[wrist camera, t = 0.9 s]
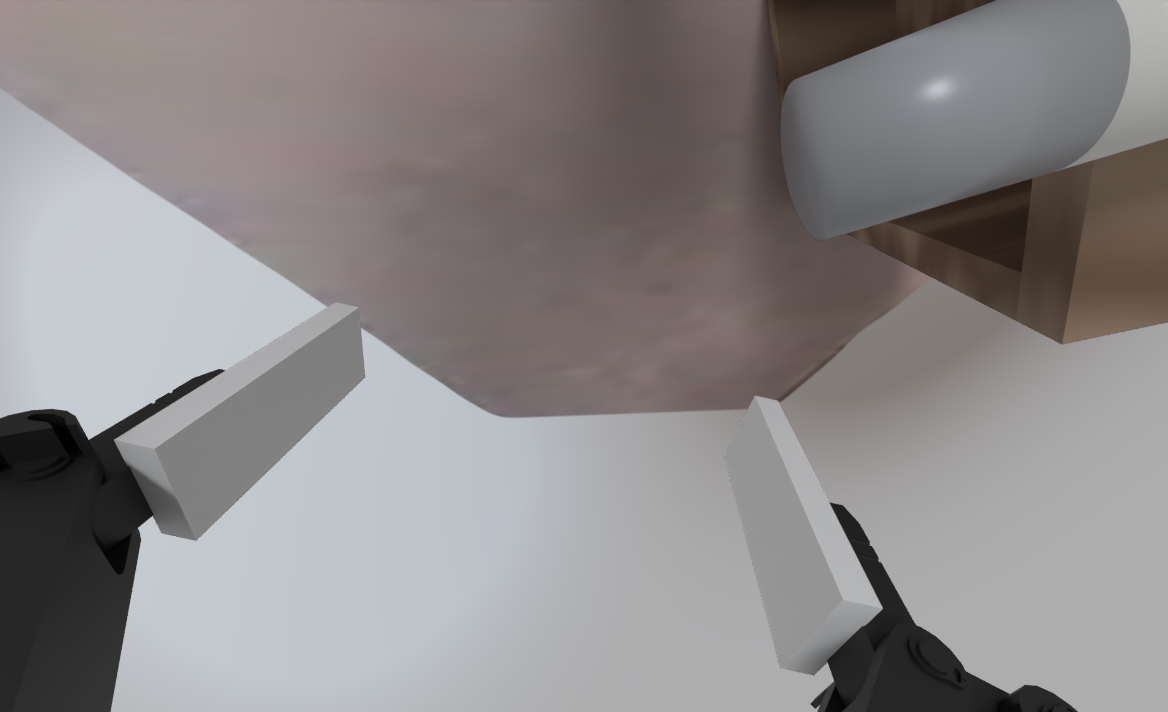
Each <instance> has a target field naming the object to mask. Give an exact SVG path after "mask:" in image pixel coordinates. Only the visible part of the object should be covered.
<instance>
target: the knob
mask: <svg viewBox="0 0 1168 712" xmlns="http://www.w3.org/2000/svg"><path fill="white" fill-rule="evenodd" d="M780 133H781V151H782V160H783V166H784V172H785V177H786V182H787V186H788V190H789V193H790V197H791V200H792V203H793V206H794V208H795V211H796V213H797V216H798V218H799V220H800V222H801V223H802V225H803V227H804V228H805V230H806V231H807V232H808V233H809V235H810V236H812V237H813V238H814V239H816V240H819V241H822V240H826V239H830V238H833V237H836V236H840V235H843V234H846V233H850V232H853V231H857V230H860V229H863V228H867V227H870V226H873V225H877V224H880V223H884V222H887V221H890V220H894V219H897V218H900V217H904V216H907V215H910V214H914V213H917V212H921V211H924V210H927V209H931V208H934V207H937V206H941V205H944V204H948V203H951V202H954V201H958V200H961V199H964V198H968V197H971V196H974V195H978V194H981V193H985V192H988V191H991V190H995V189H998V188H1001V187H1005V186H1008V185H1012V184H1015V183H1018V182H1022V181H1025V180H1028V179H1032V178H1035V177H1038V176H1042V175H1045V174H1049V173H1052V172H1055V171H1059V170H1062V169H1065V168H1069V167H1072V166H1076V165H1079V164H1082V163H1086V162H1089V161H1092V160H1096V159H1099V158H1102V157H1106V156H1109V155H1113V154H1116V153H1119V152H1123V151H1126V150H1129V149H1133V148H1136V147H1140V146H1143V145H1146V144H1150V143H1153V142H1156V141H1160V140H1163V139H1167V138H1168V0H996V1H993V2H991V3H988V4H986V5H983V6H980V7H978V8H975V9H973V10H970V11H968V12H965V13H963V14H960V15H958V16H955V17H952V18H950V19H947V20H945V21H942V22H940V23H937V24H935V25H932V26H930V27H927V28H924V29H922V30H919V31H917V32H914V33H912V34H909V35H907V36H904V37H902V38H899V39H897V40H894V41H891V42H889V43H886V44H884V45H881V46H879V47H876V48H874V49H871V50H869V51H866V52H863V53H861V54H858V55H856V56H853V57H851V58H848V59H846V60H843V61H841V62H838V63H835V64H833V65H830V66H828V67H825V68H823V69H820V70H818V71H815V72H813V73H810V74H808V75H805V76H802V77H800V78H797V79H795V80H793V81H792V82H791V83H790V85H789V86H788V88H787V91H786V93H785V96H784V100H783V105H782V112H781V129H780Z"/></svg>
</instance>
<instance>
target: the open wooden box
mask: <svg viewBox="0 0 1168 712" xmlns="http://www.w3.org/2000/svg"><path fill="white" fill-rule="evenodd" d="M993 1H996V0H767V2H768V10H769V18H770V26H771V34H772V42H773V50H774V58H775V66H776V74H777V81H778V89H779V97H780V105H781V112H782V105H783V100H784V96H785V93H786V91H787V88H788V86H789V85H790V83H791V82H792V81H793V80H795V79H797V78H800V77H802V76H805V75H808V74H810V73H813V72H815V71H818V70H820V69H823V68H825V67H828V66H830V65H833V64H835V63H838V62H841V61H843V60H846V59H848V58H851V57H853V56H856V55H858V54H861V53H863V52H866V51H869V50H871V49H874V48H876V47H879V46H881V45H884V44H886V43H889V42H891V41H894V40H897V39H899V38H902V37H904V36H907V35H909V34H912V33H914V32H917V31H919V30H922V29H924V28H927V27H930V26H932V25H935V24H937V23H940V22H942V21H945V20H947V19H950V18H952V17H955V16H958V15H960V14H963V13H965V12H968V11H970V10H973V9H975V8H978V7H980V6H983V5H986V4H988V3H991V2H993ZM847 234H849V235H851V236H852V237H854V238H856V239H858V240H860V241H862V242H864V243H866V244H868V245H870V246H872V247H874V248H876V249H878V250H880V251H882V252H884V253H885V254H887V255H889V256H891V257H893V258H895V259H897V260H899V261H901V262H903V263H905V264H907V265H909V266H911V267H913V268H915V269H917V270H918V271H920V272H922V273H924V274H926V275H928V276H930V277H932V278H934V279H936V280H938V281H940V282H942V283H944V284H946V285H948V286H950V287H951V288H953V289H955V290H957V291H959V292H961V293H963V294H965V295H967V296H969V297H971V298H973V299H975V300H977V301H979V302H981V303H983V304H985V305H987V306H988V307H990V308H992V309H994V310H996V311H998V312H1000V313H1002V314H1004V315H1006V316H1008V317H1010V318H1012V319H1014V320H1016V321H1018V322H1019V323H1021V324H1023V325H1025V326H1027V327H1029V328H1031V329H1033V330H1035V331H1037V332H1039V333H1041V334H1043V335H1045V336H1047V337H1049V338H1051V339H1053V340H1055V341H1056V342H1058V343H1060V344H1067V343H1072V342H1076V341H1081V340H1086V339H1091V338H1096V337H1100V336H1104V335H1110V334H1114V333H1119V332H1124V331H1129V330H1134V329H1138V328H1143V327H1148V326H1153V325H1157V324H1162V323H1167V322H1168V138H1167V139H1163V140H1160V141H1156V142H1153V143H1150V144H1146V145H1143V146H1140V147H1136V148H1133V149H1129V150H1126V151H1123V152H1119V153H1116V154H1113V155H1109V156H1106V157H1102V158H1099V159H1096V160H1092V161H1089V162H1086V163H1082V164H1079V165H1076V166H1072V167H1069V168H1065V169H1062V170H1059V171H1055V172H1052V173H1049V174H1045V175H1042V176H1038V177H1035V178H1032V179H1028V180H1025V181H1022V182H1018V183H1015V184H1012V185H1008V186H1005V187H1001V188H998V189H995V190H991V191H988V192H985V193H981V194H978V195H974V196H971V197H968V198H964V199H961V200H958V201H954V202H951V203H948V204H944V205H941V206H937V207H934V208H931V209H927V210H924V211H921V212H917V213H914V214H910V215H907V216H904V217H900V218H897V219H894V220H890V221H887V222H884V223H880V224H877V225H873V226H870V227H867V228H863V229H860V230H857V231H853V232H850V233H847Z"/></svg>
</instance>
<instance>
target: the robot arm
mask: <svg viewBox="0 0 1168 712" xmlns="http://www.w3.org/2000/svg"><path fill="white" fill-rule="evenodd" d="M364 378H365V369H364V359H363V348H362V337H361V326H360V315H359V307H354V306H350V305H345V304H341V303H336V302H335V303H334V304H332V305H331V306H329V307H327V308H326V309H324V310H323V311H321V312H319V313H318V314H316V315H314V316H313V317H311V318H310V319H308V320H306V321H305V322H303V323H301V324H300V325H299V326H297V327H295V328H293V329H292V330H290V331H289V332H287V333H285V334H284V335H282V336H281V337H279V338H277V339H276V340H274V341H273V342H271V343H269V344H268V345H266V346H264V347H263V348H261V349H260V350H258V351H256V352H255V353H253V354H252V355H250V356H248V357H247V358H245V359H243V360H242V361H240V362H239V363H237V364H235V365H234V366H232V367H231V368H229V369H227V370H222V369H218V370H215V371H212V372H209V373H206V374H204V375H201V376H198V377H195V378H193V379H191V380H189V381H188V382H186V383H185V384H183V385H181V386H179V387H178V388H176V389H174V390H173V392H172V393H167V394H166V395H164V396H162V397H161V398H159V399H157V400H156V402H155V403H154V404H152V403H150V404H149V405H147V406H146V407H144V408H142V409H140V410H139V411H137V412H135V413H134V414H132V415H130V416H129V417H127V418H125V419H124V420H122V421H120V422H118V423H117V424H115V425H113V426H112V427H110V428H109V429H107V430H105V431H103V432H101V433H100V434H98V435H96V436H95V437H93V438H91V439H90V440H88V438H87V436H86V434H85V432H84V431H83V429H82V427H81V425H80V424H79V422H78V420H77V418H76V416H74V415H73V414H71V413H69V412H68V411H63V410H55V409H45V410H31V411H27V412H22V413H18V414H13V415H9V416H6V417H3V418H0V712H110V711H111V706H112V700H113V694H114V689H115V683H116V678H117V672H118V666H119V661H120V655H121V650H122V644H123V638H124V633H125V626H126V621H127V616H128V610H129V605H130V599H131V594H132V588H133V582H134V576H135V571H136V565H137V560H138V554H139V548H140V543H141V538H140V532H139V530H138V527H139V526H141V525H142V524H143V523H144V522H145V521H146V520H148V519H149V518H150V517H152V516H153V517H154V519H155V521H156V523H157V525H158V527H159V529H160V531H161V533H163V534H167V535H172V536H177V537H181V538H186V539H191V540H195V541H196V540H197V539H198V538H199V537H200V536H202V535H203V534H204V533H205V532H206V531H207V530H208V529H209V528H210V527H211V526H212V525H213V524H214V523H215V522H216V521H217V520H218V519H219V518H220V517H221V516H222V515H223V514H224V513H225V512H226V511H227V510H228V509H229V508H230V507H231V506H232V505H234V504H235V503H236V502H237V501H238V500H239V499H240V498H241V497H242V496H243V495H244V494H245V493H246V492H247V491H248V490H249V489H250V488H251V487H252V486H253V485H254V484H255V483H256V482H257V481H258V480H259V479H260V478H262V476H264V475H265V474H266V473H267V472H268V471H269V470H270V469H271V468H272V467H273V466H274V465H275V464H276V463H277V462H278V461H279V460H280V459H281V458H282V457H283V456H284V455H285V454H286V453H287V452H288V451H289V450H290V449H292V447H294V446H295V445H296V444H297V443H298V442H299V441H300V440H301V439H302V438H303V437H304V436H305V435H306V434H307V433H308V432H309V431H310V430H311V429H312V428H313V427H314V426H315V425H316V424H317V423H318V422H319V421H320V420H321V419H322V418H324V417H325V416H326V414H328V413H329V412H330V411H331V410H332V409H333V408H334V407H335V406H336V405H337V404H338V403H339V402H340V401H341V400H342V399H343V398H344V397H345V396H346V395H347V394H348V393H349V392H350V391H352V390H353V388H354V387H356V386H357V385H358V384H359V383H360V382H361V381H362V380H363V379H364ZM724 458H725V462H726V465H727V469H728V473H729V477H730V481H731V484H732V488H733V492H734V496H735V499H736V503H737V507H738V511H739V514H740V518H741V522H742V526H743V529H744V533H745V537H746V541H747V545H748V549H749V552H750V556H751V560H752V564H753V567H754V571H755V575H756V579H757V582H758V586H759V590H760V593H761V598H762V601H763V605H764V609H765V613H766V616H767V620H768V624H769V627H770V631H771V635H772V639H773V643H774V647H775V650H776V654H777V658H778V662H779V665H780V668H783V669H787V670H792V671H796V672H801V673H805V674H810V675H815V674H816V673H817V672H818V671H819V670H820V669H821V668H822V667H823V666H824V665H825V664H826V663H827V662H828V664H829V667H830V670H831V673H832V675H833V678H834V682H833V683H832V684H831V685H830V686H828V687H827V688H826V689H825V690H824V691H823V692H822V693H821V694H820V695H819V696H817V697H816V698H815V699H814V701H813V702H812V703H811V705H812V706H813V707H814V708H817V707H818V706H819V705H820V704H821V705H820V707H819V709H818V712H1077V711H1076V710H1075V709H1074V708H1073V707H1072V706H1071V705H1069V704H1068V703H1066V702H1065V701H1063V700H1062V699H1061V698H1059V697H1058V696H1056V695H1055V694H1053V693H1052V692H1049V691H1047V690H1045V689H1043V688H1040V687H1038V686H1031V685H1024V686H1023V687H1021V688H1019V689H1018V690H1016V691H1014V692H1013V693H1011V694H1009V693H1006V692H1005V691H1003V690H1001V689H999V688H997V687H995V686H993V685H991V684H989V683H987V682H985V681H983V680H981V679H979V678H977V677H976V676H974V675H972V674H970V673H968V672H966V671H965V669H964V667H963V665H962V664H961V662H960V661H959V660H958V659H957V657H956V656H955V655H954V654H953V652H952V651H951V650H950V649H949V648H948V647H947V646H946V645H945V644H944V643H942V642H941V641H940V640H939V639H938V638H937V637H936V636H934V635H932V634H931V633H929V632H928V631H926V630H924V629H923V628H921V627H919V626H916V624H915V623H914V621H913V620H912V618H911V616H910V614H909V612H908V611H907V608H906V607H905V605H904V603H903V601H902V599H901V598H900V596H899V594H898V592H897V590H896V589H895V587H894V585H893V583H892V582H891V580H890V578H889V576H888V574H887V572H886V571H885V569H884V567H883V565H882V563H881V562H879V561H878V559H879V558H878V556H877V554H876V553H875V551H874V549H873V547H872V546H870V544H869V543H870V542H869V540H868V538H867V536H866V535H865V533H864V531H863V529H862V528H861V526H860V524H859V523H858V521H857V520H856V519H855V518H854V517H853V516H852V515H851V514H850V513H849V512H848V511H847V510H846V508H845V507H844V506H843V505H838V504H834V503H829V501H828V499H827V497H826V495H825V493H824V491H823V489H822V488H821V485H820V483H819V481H818V479H817V477H816V476H815V474H814V471H813V470H812V467H811V466H810V464H809V462H808V460H807V458H806V456H805V454H804V452H803V450H802V448H801V446H800V444H799V442H798V440H797V438H796V436H795V434H794V432H793V430H792V428H791V426H790V424H789V422H788V420H787V418H786V416H785V414H784V412H783V410H782V408H781V406H780V404H779V402H778V401H777V400H772V399H768V398H763V397H759V396H754V398H753V400H752V402H751V404H750V406H749V408H748V410H747V412H746V414H745V416H744V418H743V420H742V422H741V424H740V426H739V428H738V430H737V432H736V434H735V436H734V438H733V440H732V442H731V444H730V446H729V448H728V450H727V452H726V454H725V456H724Z"/></svg>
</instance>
